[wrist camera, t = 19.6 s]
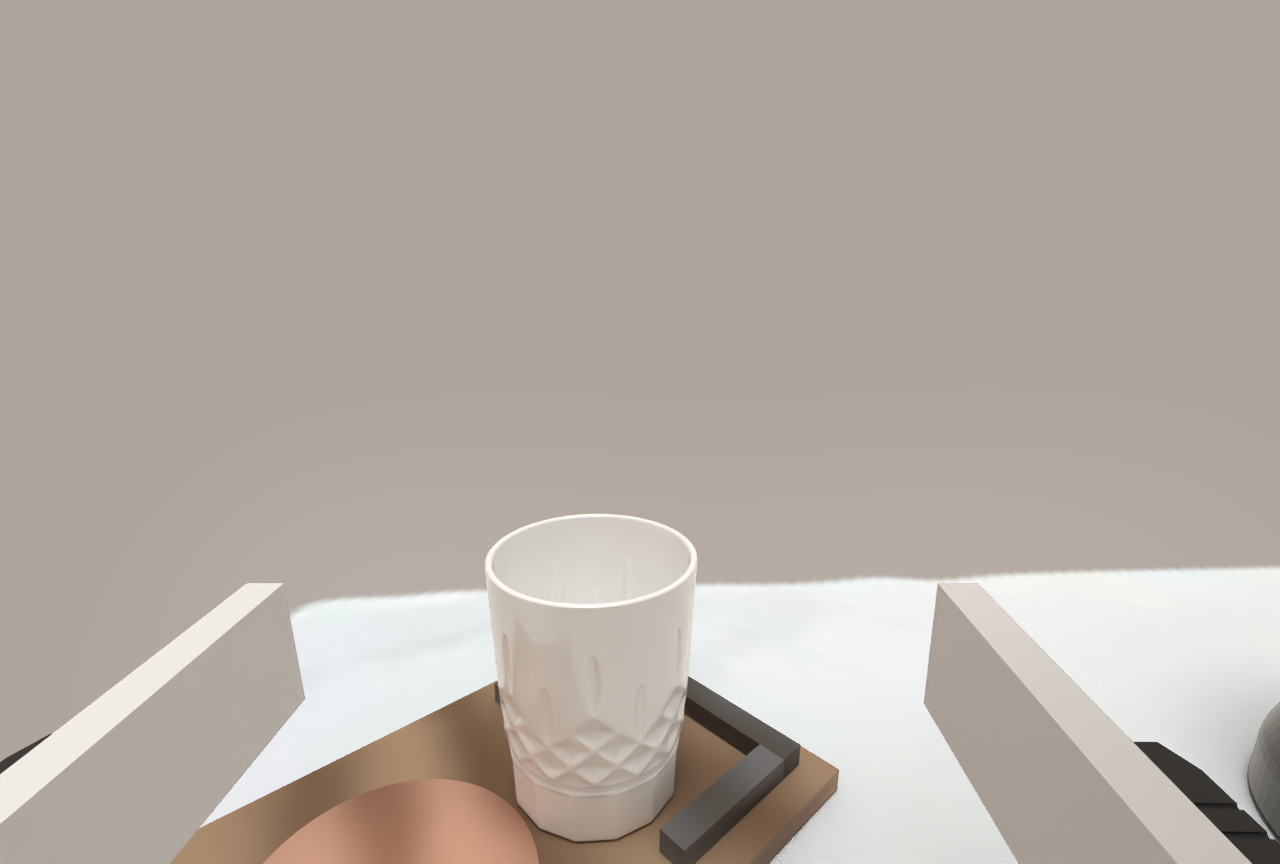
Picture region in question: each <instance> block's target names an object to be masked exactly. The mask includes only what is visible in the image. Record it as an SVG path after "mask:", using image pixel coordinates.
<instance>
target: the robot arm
mask: <svg viewBox="0 0 1280 864" xmlns="http://www.w3.org/2000/svg"><path fill="white" fill-rule="evenodd" d="M304 699H305V695H304V690H303V685H302V679H301V674H300V669H299V663H298V658H297V653H296V647H295V642H294V637H293V631H292V626H291V621H290V615H289V610H288V605H287V599H286V594H285V589H284V584H283V583H269V584H268V583H251V584H250V583H249V584H248V583H247V584H246V585H244V586H243V587H242V588H240V589H239V590H238V591H236V592H235V593H234V594H233V595H232V596H230V597H229V598H227V599H226V600H225V601H224V602H222V603H221V604H220V605H218V606H217V607H216V608H215V609H213V610H212V611H211V612H209V613H208V614H207V615H205V616H204V617H203V618H202V619H200V620H199V621H198V622H197V623H195V624H194V625H193V626H191V627H190V628H189V629H187V630H186V631H185V632H184V633H182V634H181V635H180V636H178V637H177V638H176V639H174V640H173V641H172V642H171V643H169V644H168V645H167V646H166V647H164V648H163V649H162V650H160V651H159V652H158V653H156V654H155V655H154V656H152V657H151V658H150V659H149V660H147V661H146V662H145V663H143V664H142V665H141V666H140V667H138V668H137V669H136V670H134V671H133V672H132V673H131V674H129V675H128V676H127V677H125V678H124V679H123V680H121V681H120V682H119V683H118V684H116V685H115V686H114V687H112V688H111V689H110V690H109V691H107V692H106V693H105V694H103V695H102V696H101V697H100V698H98V699H97V700H96V701H94V702H93V703H92V704H90V705H89V706H88V707H87V708H85V709H84V710H83V711H81V712H80V713H79V714H78V715H76V716H75V717H74V718H72V719H71V720H70V721H68V722H67V723H66V724H65V725H63V726H62V727H61V728H59V729H58V730H57V731H56V732H54V733H53V734H49V735H48V736H46V737H44V738H42V739H40V740H38V741H37V742H35V743H33V744H31V745H29V746H28V747H26V748H24V749H22V750H20V751H18V752H17V753H15V754H13V755H11V756H9V757H7V758H6V759H4V760H3V761H1V762H0V864H170V863H171V862H172V861H173V859H174V858H175V857H176V856H177V855H178V853H179V852H180V851H181V850H182V848H183V847H184V846H185V845H186V844H187V842H188V841H189V840H190V839H191V837H192V836H193V835H194V834H195V833H196V831H197V830H198V829H199V828H200V826H201V825H202V824H203V823H204V822H205V820H206V819H207V818H208V817H209V815H210V814H211V813H212V812H213V811H214V809H215V808H216V807H217V806H218V804H219V803H220V802H221V801H222V800H223V798H224V797H225V796H226V795H227V793H228V792H229V791H230V790H231V789H232V787H233V786H234V785H235V784H236V782H237V781H238V780H239V779H240V778H241V776H242V775H243V774H244V773H245V771H246V770H247V769H248V768H249V767H250V765H251V764H252V763H253V762H254V760H255V759H256V758H257V757H258V756H259V754H260V753H261V752H262V751H263V749H264V748H265V747H266V746H267V745H268V743H269V742H270V741H271V740H272V738H273V737H274V736H275V735H276V734H277V732H278V731H279V730H280V729H281V727H282V726H283V725H284V724H285V723H286V721H287V720H288V719H289V718H290V716H291V715H292V714H293V713H294V712H295V710H296V709H297V708H298V707H299V705H300V704H301V703H302V702H303V701H304ZM924 704H925V706H926V708H927V709H928V711H929V713H930V714H931V716H932V718H933V720H934V721H935V723H936V725H937V726H938V728H939V730H940V731H941V733H942V735H943V736H944V738H945V740H946V742H947V743H948V745H949V747H950V748H951V750H952V752H953V753H954V755H955V757H956V758H957V760H958V762H959V763H960V765H961V767H962V769H963V770H964V772H965V774H966V775H967V777H968V779H969V780H970V782H971V784H972V785H973V787H974V789H975V791H976V792H977V794H978V796H979V797H980V799H981V801H982V802H983V804H984V806H985V807H986V809H987V811H988V813H989V814H990V816H991V818H992V819H993V821H994V823H995V824H996V826H997V828H998V829H999V831H1000V833H1001V835H1002V836H1003V838H1004V840H1005V841H1006V843H1007V845H1008V846H1009V848H1010V850H1011V851H1012V853H1013V855H1014V857H1015V858H1016V860H1017V862H1018V863H1019V864H1280V844H1279V843H1278V842H1277V841H1276V840H1273V839H1270V838H1269V837H1268V835H1267V831H1265V830H1264V829H1263V828H1262V827H1261V826H1260V825H1259V824H1258V823H1257V822H1256V821H1255V820H1254V819H1253V818H1252V817H1251V816H1250V815H1249V814H1247V813H1246V812H1245V811H1244V810H1239V809H1238V807H1237V803H1236V802H1235V801H1234V800H1233V799H1232V798H1230V797H1229V796H1228V795H1227V794H1226V793H1225V792H1224V791H1223V790H1222V789H1221V788H1220V787H1219V786H1218V785H1217V784H1216V783H1215V782H1214V781H1212V780H1211V779H1210V778H1209V777H1208V776H1207V775H1206V774H1205V773H1204V772H1203V771H1202V770H1201V769H1199V768H1197V767H1196V766H1194V765H1193V764H1191V763H1189V762H1188V761H1186V760H1185V759H1183V758H1182V757H1180V756H1178V755H1177V754H1175V753H1174V752H1172V751H1171V750H1169V749H1167V748H1166V747H1164V746H1163V745H1161V744H1160V743H1158V742H1132V741H1131V739H1130V738H1129V737H1128V736H1127V735H1126V734H1125V733H1124V732H1123V731H1122V730H1121V729H1120V728H1119V727H1118V726H1117V725H1116V724H1115V723H1114V722H1113V721H1112V720H1111V719H1110V718H1109V717H1108V716H1107V715H1106V714H1105V713H1104V712H1103V711H1102V710H1101V709H1100V708H1099V707H1098V706H1097V705H1096V704H1095V703H1094V702H1093V701H1092V700H1091V699H1090V698H1089V697H1088V696H1087V695H1086V694H1085V692H1084V691H1083V690H1082V689H1081V688H1080V687H1079V686H1078V685H1077V684H1076V683H1075V682H1074V681H1073V680H1072V679H1071V678H1070V677H1069V676H1068V675H1067V674H1066V673H1065V672H1064V671H1063V670H1062V669H1061V668H1060V667H1059V666H1058V665H1057V664H1056V663H1055V662H1054V661H1053V660H1052V659H1051V658H1050V657H1049V656H1048V655H1047V654H1046V653H1045V652H1044V651H1043V650H1042V649H1041V648H1040V647H1039V645H1038V644H1037V643H1036V642H1035V641H1034V640H1033V639H1032V638H1031V637H1030V636H1029V635H1028V634H1027V633H1026V632H1025V631H1024V630H1023V629H1022V628H1021V627H1020V626H1019V625H1018V624H1017V623H1016V622H1015V621H1014V620H1013V619H1012V618H1011V617H1010V616H1009V615H1008V614H1007V613H1006V612H1005V611H1004V610H1003V609H1002V608H1001V607H1000V606H999V605H998V604H997V603H996V602H995V601H994V600H993V598H992V597H991V596H990V595H989V594H988V593H987V592H986V591H985V590H984V589H983V588H982V587H981V586H980V585H979V584H978V583H938V587H937V595H936V604H935V612H934V621H933V629H932V638H931V646H930V655H929V663H928V672H927V680H926V689H925V697H924ZM1248 779H1249V785H1250V788H1251V792H1252V794H1253V797H1254V799H1255V801H1256V803H1257V805H1258V807H1259V809H1260V811H1261V812H1262V814H1263V815H1264V817H1265V819H1266V820H1267V822H1268V823H1269V824H1270V826H1271V827H1272V828H1273V830H1274V831H1275V832H1276V834H1277V835H1278V836H1279V837H1280V703H1279V704H1278V705H1277V706H1275V707H1274V708H1273V709H1272V710H1271V711H1270V713H1269V714H1268V715H1267V717H1266V718H1265V720H1264V722H1263V723H1262V725H1261V727H1260V730H1259V733H1258V737H1257V740H1256V743H1255V747H1254V750H1253V753H1252V757H1251V760H1250V764H1249V768H1248Z"/></svg>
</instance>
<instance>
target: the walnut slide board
mask: <svg viewBox="0 0 1280 864" xmlns="http://www.w3.org/2000/svg"><path fill="white" fill-rule="evenodd" d="M838 773H839V769H837V768H835V767H834V766H832V765H830V764H829V763H827V762H826V761H824V760H822V759H821V758H819V757H817V756H816V755H814V754H813V753H811V752H809V751H808V750H806V749H804V748H803V747H801V746H800V744H798V743H796V742H795V741H793V740H791V739H790V738H788V737H786V736H785V735H783V734H782V733H780V732H778V731H777V730H775V729H773V728H772V727H770V726H769V725H767V724H765V723H764V722H762V721H760V720H759V719H757V718H756V717H754V716H752V715H751V714H749V713H747V712H746V711H744V710H742V709H741V708H739V707H738V706H736V705H734V704H733V703H731V702H729V701H728V700H726V699H725V698H723V697H721V696H720V695H718V694H716V693H715V692H713V691H711V690H710V689H708V688H707V687H705V686H703V685H702V684H700V683H698V682H697V681H695V680H694V679H692V678H690V677H689V676H688V683H687V695H686V700H685V705H684V721H683V726H682V729H681V731H680V735H679V742H678V757H677V768H676V775H675V783H674V791H673V795H672V797H671V798H670V799H669V800H668V802H667V803H666V804H665V806H664V807H663V808H662V809H661V811H660V812H659V813H658V814H657V816H656V817H655V818H654V820H653V821H652V822H651V823H649V824H647V825H645V826H643V827H641V828H638V829H636V830H634V831H632V832H630V833H628V834H626V835H624V836H622V837H620V838H618V839H614V840H598V841H579V842H575V841H572V840H569V839H567V838H564V837H561V836H558V835H556V834H553V833H550V832H548V831H545V830H542V829H540V828H539V827H538V826H537V825H536V824H535V823H534V822H533V820H532V819H531V818H530V817H529V816H528V815H527V814H526V812H525V811H524V810H523V809H522V808H521V807H520V806H519V805H518V803H517V799H516V791H515V784H514V777H513V769H512V759H511V752H510V747H509V741H508V739H507V737H506V735H505V730H504V718H503V713H502V708H501V703H500V695H499V685H498V681H495V682H493V683H491V684H489V685H487V686H485V687H483V688H481V689H479V690H477V691H475V692H473V693H471V694H469V695H467V696H465V697H463V698H461V699H459V700H457V701H455V702H453V703H451V704H449V705H447V706H445V707H443V708H441V709H439V710H437V711H435V712H433V713H431V714H429V715H427V716H425V717H423V718H421V719H419V720H417V721H415V722H413V723H411V724H409V725H407V726H405V727H403V728H401V729H399V730H397V731H395V732H393V733H391V734H389V735H387V736H385V737H383V738H381V739H379V740H377V741H375V742H373V743H370V744H368V745H366V746H364V747H362V748H360V749H358V750H356V751H354V752H352V753H350V754H348V755H346V756H344V757H342V758H340V759H338V760H336V761H334V762H332V763H330V764H328V765H326V766H324V767H322V768H320V769H318V770H316V771H314V772H312V773H310V774H308V775H306V776H304V777H302V778H300V779H298V780H296V781H294V782H292V783H290V784H288V785H286V786H284V787H282V788H280V789H278V790H276V791H274V792H272V793H270V794H268V795H266V796H264V797H262V798H260V799H258V800H256V801H254V802H252V803H250V804H248V805H245V806H243V807H241V808H239V809H237V810H235V811H233V812H231V813H229V814H227V815H225V816H223V817H221V818H219V819H217V820H215V821H213V822H211V823H209V824H207V825H205V826H203V827H201V828H199V829H198V830H197V831H196V833H195V834H194V835H193V836H192V837H191V839H190V840H189V841H188V842H187V844H186V845H185V846H184V847H183V848H182V850H181V851H180V852H179V853H178V855H177V856H176V857H175V858H174V859H173V861H172V862H171V863H170V864H768V863H769V862H770V861H771V860H772V859H773V858H774V856H775V855H776V854H777V853H778V852H779V851H780V850H781V849H782V848H783V847H784V846H785V845H786V844H787V842H788V841H789V840H790V839H791V838H792V837H793V836H794V835H795V834H796V833H797V832H798V831H799V830H800V829H801V827H802V826H803V825H804V824H805V823H806V822H807V821H808V820H809V819H810V818H811V817H812V816H813V815H814V813H815V812H816V811H817V810H818V809H819V808H820V807H821V806H822V805H823V804H824V803H825V802H826V801H827V799H828V798H829V797H830V796H831V795H832V794H833V793H834V792H835V791H836V790H837V783H838Z"/></svg>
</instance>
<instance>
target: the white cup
mask: <svg viewBox="0 0 1280 864" xmlns="http://www.w3.org/2000/svg"><path fill="white" fill-rule="evenodd" d="M696 569H697V553H696V550H695V548H694V546H693V545H692V543H691V542H690V541H689V540H688V539H687V538H686V537H685V536H684V535H682V534H681V533H679V532H678V531H676V530H674V529H672V528H670V527H668V526H666V525H663V524H660V523H657V522H654V521H651V520H647V519H642V518H638V517H632V516H625V515H614V514H583V515H571V516H563V517H557V518H552V519H547V520H544V521H540V522H536V523H533V524H530V525H527V526H524V527H522V528H520V529H517V530H515V531H513V532H511V533H510V534H508V535H506V536H505V537H503V538H502V539H500V540H499V541H498V542H497V543H496V544H495V545H494V546H493V547H492V548H491V549H490V551H489V552H488V554H487V556H486V560H485V572H486V580H487V589H488V598H489V607H490V615H491V624H492V633H493V643H494V650H495V658H496V667H497V676H498V685H499V695H500V703H501V708H502V713H503V718H504V730H505V735H506V737H507V739H508V741H509V747H510V752H511V759H512V769H513V777H514V784H515V791H516V799H517V803H518V805H519V806H520V807H521V808H522V809H523V810H524V811H525V812H526V814H527V815H528V816H529V817H530V818H531V819H532V820H533V822H534V823H535V824H536V825H537V826H538V827H539V828H540V829H542V830H545V831H548V832H550V833H553V834H556V835H558V836H561V837H564V838H567V839H569V840H572V841H575V842H579V841H598V840H614V839H618V838H620V837H622V836H624V835H626V834H628V833H630V832H632V831H634V830H636V829H638V828H641V827H643V826H645V825H647V824H649V823H651V822H652V821H653V820H654V818H655V817H656V816H657V814H658V813H659V812H660V811H661V809H662V808H663V807H664V806H665V804H666V803H667V802H668V800H669V799H670V798H671V797H672V795H673V791H674V783H675V775H676V768H677V757H678V742H679V735H680V731H681V729H682V726H683V721H684V705H685V700H686V695H687V683H688V670H689V657H690V644H691V633H692V619H693V606H694V594H695V582H696Z"/></svg>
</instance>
